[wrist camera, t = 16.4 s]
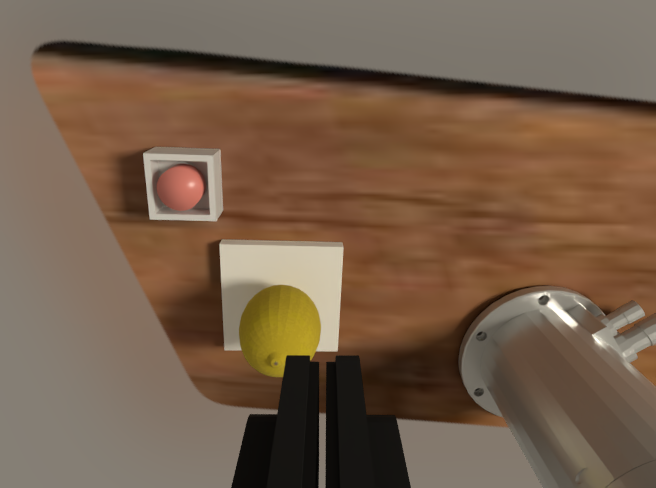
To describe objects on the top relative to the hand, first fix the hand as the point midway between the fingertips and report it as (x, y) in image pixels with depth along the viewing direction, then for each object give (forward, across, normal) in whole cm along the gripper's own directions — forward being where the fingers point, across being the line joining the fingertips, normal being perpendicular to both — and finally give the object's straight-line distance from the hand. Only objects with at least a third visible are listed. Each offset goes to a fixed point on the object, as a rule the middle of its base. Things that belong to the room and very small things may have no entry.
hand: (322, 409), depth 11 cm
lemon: (+23, +3, +8) cm, 25 cm away
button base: (+23, +10, -1) cm, 25 cm away
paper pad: (+24, +3, +8) cm, 26 cm away
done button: (+22, +10, -1) cm, 24 cm away
